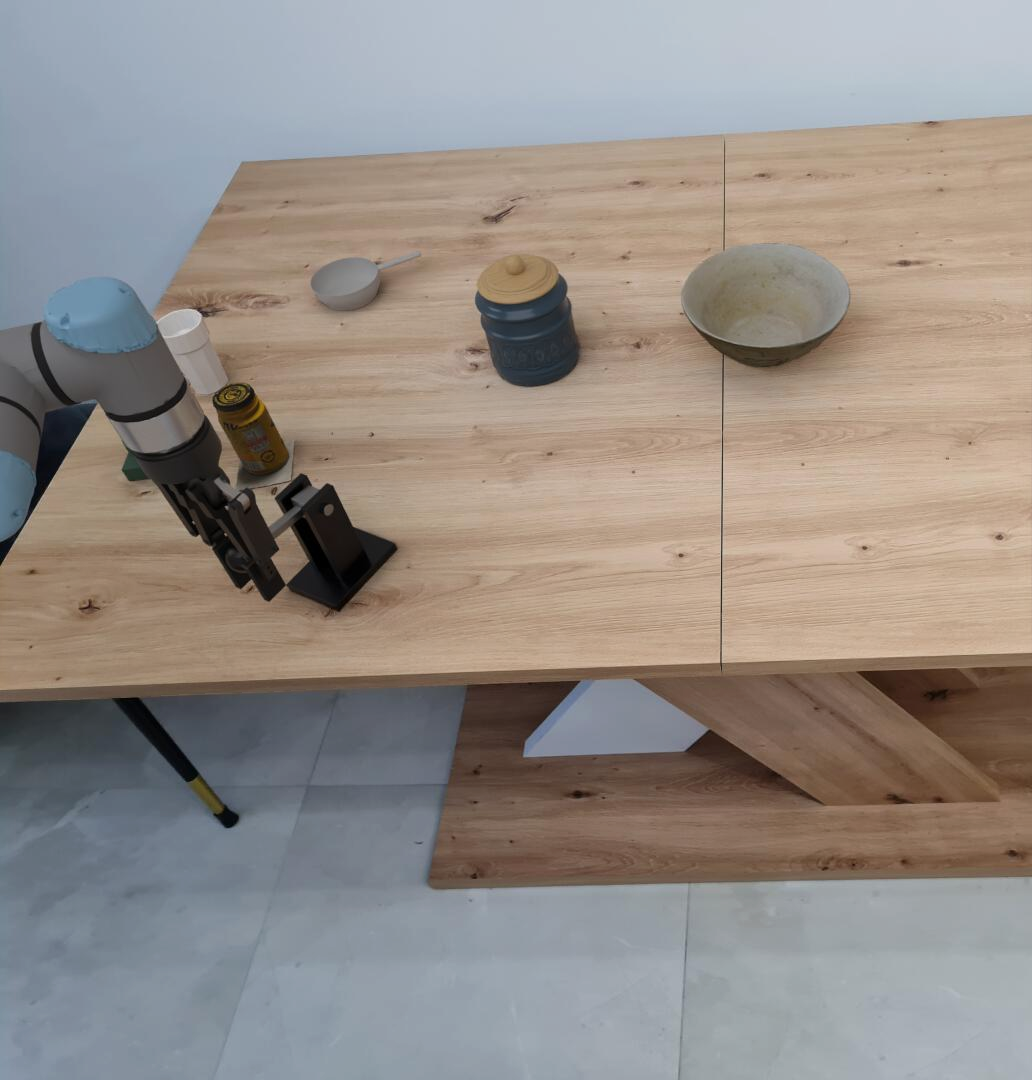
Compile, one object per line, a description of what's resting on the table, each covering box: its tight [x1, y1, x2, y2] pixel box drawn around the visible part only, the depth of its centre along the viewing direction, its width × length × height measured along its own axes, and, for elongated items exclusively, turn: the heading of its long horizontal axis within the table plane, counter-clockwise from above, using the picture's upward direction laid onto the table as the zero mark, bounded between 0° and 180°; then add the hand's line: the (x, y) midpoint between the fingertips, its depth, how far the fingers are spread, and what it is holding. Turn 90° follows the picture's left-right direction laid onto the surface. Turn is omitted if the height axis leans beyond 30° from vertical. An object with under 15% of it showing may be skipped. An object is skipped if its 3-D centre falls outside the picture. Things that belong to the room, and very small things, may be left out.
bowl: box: [680, 242, 851, 369], centre depth 149 cm, size 24×24×10 cm
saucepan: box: [309, 250, 422, 311], centre depth 169 cm, size 11×18×4 cm, turn 114°
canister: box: [474, 253, 581, 387], centre depth 148 cm, size 13×13×18 cm
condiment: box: [212, 382, 295, 491], centre depth 139 cm, size 7×8×12 cm
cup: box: [156, 308, 230, 395], centre depth 152 cm, size 7×7×11 cm
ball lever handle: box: [225, 485, 321, 573], centre depth 117 cm, size 13×4×4 cm, turn 152°
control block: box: [121, 440, 150, 482], centre depth 145 cm, size 10×6×4 cm, turn 6°
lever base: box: [274, 472, 398, 613], centre depth 124 cm, size 11×8×14 cm
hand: (261, 585), depth 118 cm, fingers closed on ball lever handle, 4 cm apart
